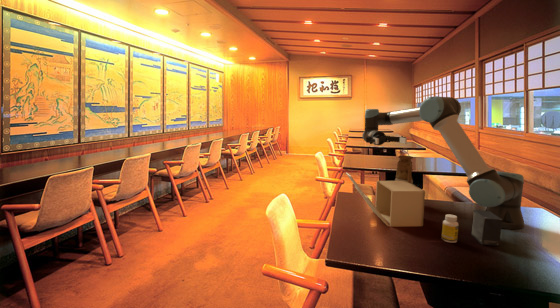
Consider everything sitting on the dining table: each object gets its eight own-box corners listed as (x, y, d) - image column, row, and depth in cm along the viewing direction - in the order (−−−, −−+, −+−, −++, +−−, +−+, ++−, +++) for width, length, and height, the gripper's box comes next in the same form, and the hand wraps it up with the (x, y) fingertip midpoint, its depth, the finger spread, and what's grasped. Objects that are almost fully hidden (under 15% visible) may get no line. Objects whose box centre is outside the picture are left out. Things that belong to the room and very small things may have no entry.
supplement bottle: (456, 244, 119) (458, 219, 118) (440, 241, 122) (442, 216, 121) (457, 239, 124) (459, 215, 123) (442, 236, 127) (443, 212, 126)
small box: (500, 246, 118) (503, 219, 116) (481, 245, 119) (483, 218, 117) (488, 235, 128) (490, 210, 126) (470, 234, 129) (472, 209, 128)
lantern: (384, 200, 178) (387, 146, 174) (398, 198, 183) (401, 145, 179) (405, 207, 165) (408, 149, 161) (420, 205, 169) (423, 148, 165)
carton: (403, 212, 156) (405, 180, 154) (422, 227, 137) (425, 191, 135) (375, 212, 156) (376, 180, 154) (390, 227, 136) (392, 191, 134)
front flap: (374, 211, 156) (343, 169, 153) (389, 225, 136) (354, 178, 133) (373, 212, 156) (342, 170, 153) (388, 226, 136) (353, 179, 133)
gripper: (399, 144, 175) (417, 148, 154) (354, 144, 174) (366, 149, 153) (399, 130, 174) (418, 133, 153) (354, 131, 173) (366, 133, 152)
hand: (392, 141), depth 153 cm, fingers open, 13 cm apart
